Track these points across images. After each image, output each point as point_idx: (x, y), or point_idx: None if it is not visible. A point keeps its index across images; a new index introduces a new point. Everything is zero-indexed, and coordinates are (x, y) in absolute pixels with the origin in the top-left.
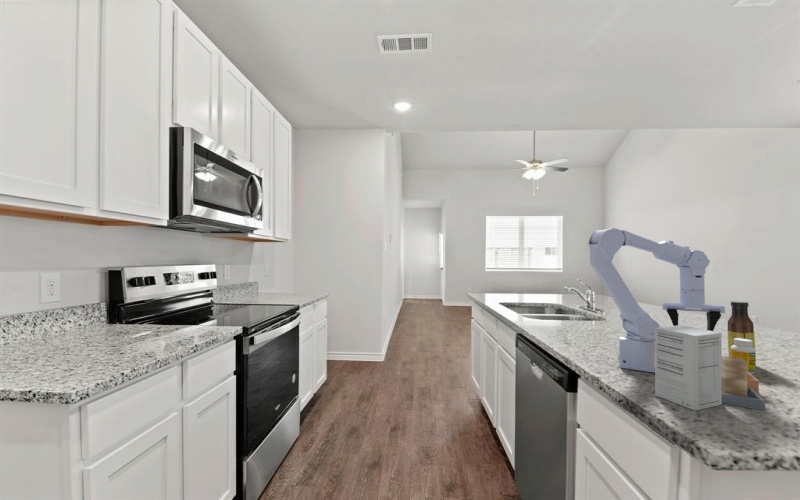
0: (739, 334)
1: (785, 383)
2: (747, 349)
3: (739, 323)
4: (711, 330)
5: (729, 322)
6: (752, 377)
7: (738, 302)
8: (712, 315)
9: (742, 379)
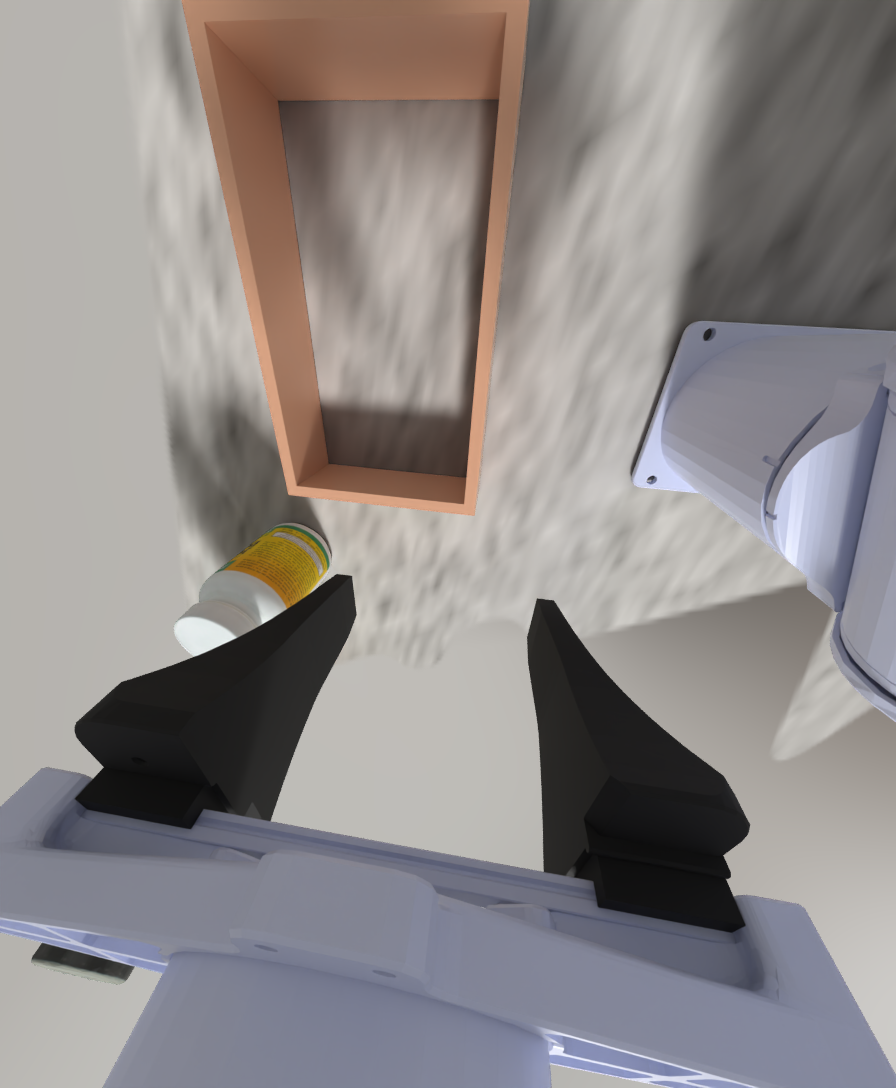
0: None
1: (190, 460)
2: (220, 582)
3: None
4: (309, 601)
5: None
6: (218, 99)
7: (69, 967)
8: (176, 707)
9: None
